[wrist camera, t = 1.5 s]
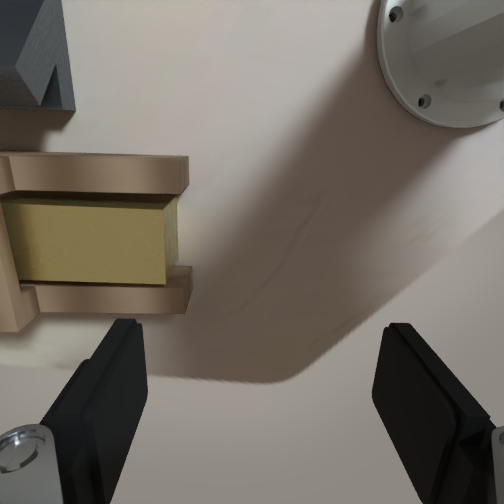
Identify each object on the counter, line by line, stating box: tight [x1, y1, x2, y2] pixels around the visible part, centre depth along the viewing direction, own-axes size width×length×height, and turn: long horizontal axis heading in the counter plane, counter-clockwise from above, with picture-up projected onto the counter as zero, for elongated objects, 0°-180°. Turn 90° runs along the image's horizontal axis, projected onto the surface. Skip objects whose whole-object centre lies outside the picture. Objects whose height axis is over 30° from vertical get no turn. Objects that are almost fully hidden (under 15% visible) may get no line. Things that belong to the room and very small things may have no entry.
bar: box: [0, 190, 178, 284], centre depth 24 cm, size 12×5×5 cm, turn 87°
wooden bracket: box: [0, 151, 193, 332], centre depth 23 cm, size 14×10×6 cm
